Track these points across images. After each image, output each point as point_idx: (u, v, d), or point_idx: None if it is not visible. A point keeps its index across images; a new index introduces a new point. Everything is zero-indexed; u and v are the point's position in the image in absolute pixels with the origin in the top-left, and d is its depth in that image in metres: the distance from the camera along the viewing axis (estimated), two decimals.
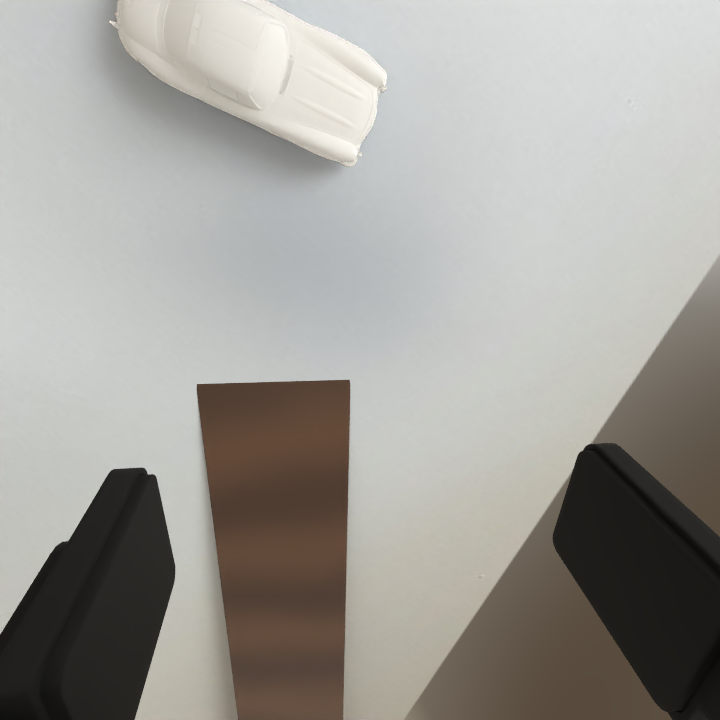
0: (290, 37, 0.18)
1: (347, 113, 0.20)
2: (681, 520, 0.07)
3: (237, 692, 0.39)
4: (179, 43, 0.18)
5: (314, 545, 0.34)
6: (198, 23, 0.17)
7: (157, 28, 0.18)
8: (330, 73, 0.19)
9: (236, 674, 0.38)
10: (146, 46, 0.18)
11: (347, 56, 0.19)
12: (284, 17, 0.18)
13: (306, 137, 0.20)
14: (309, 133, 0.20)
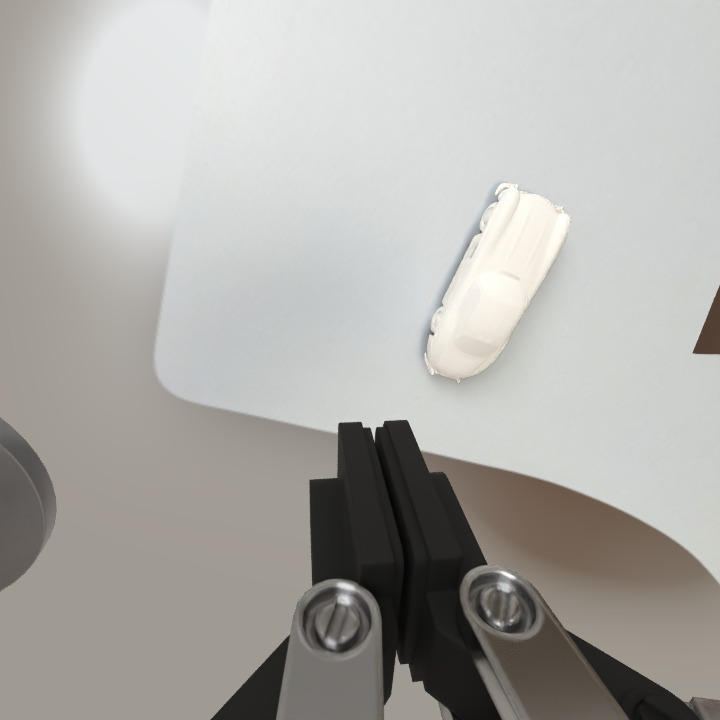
0: (486, 271, 0.24)
1: (539, 224, 0.24)
2: (416, 486, 0.08)
3: None
4: (488, 349, 0.25)
5: None
6: (481, 337, 0.25)
7: (473, 360, 0.26)
8: (511, 240, 0.24)
9: None
10: (479, 366, 0.27)
11: (501, 225, 0.23)
12: (473, 275, 0.24)
13: (550, 260, 0.24)
14: (548, 258, 0.24)
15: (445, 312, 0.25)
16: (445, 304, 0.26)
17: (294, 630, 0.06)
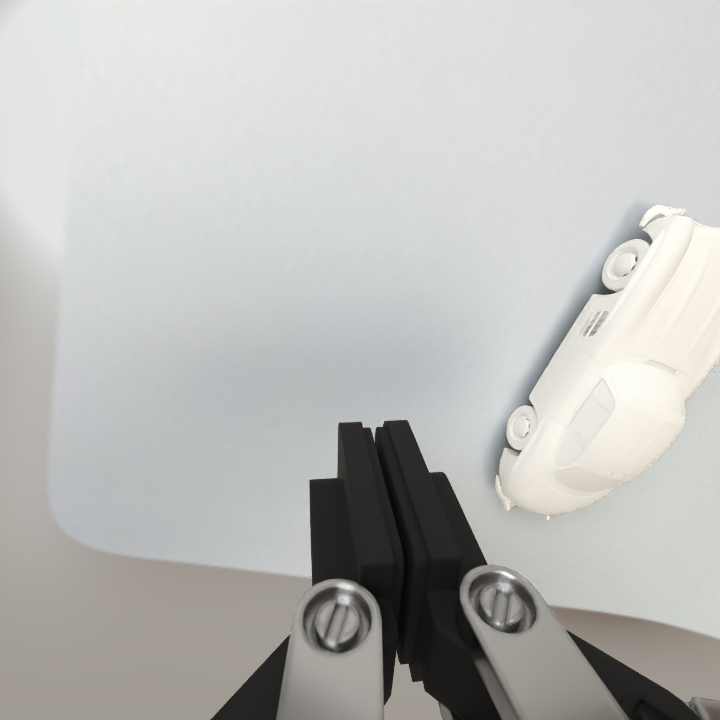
0: (622, 361, 0.14)
1: None
2: (416, 486, 0.08)
3: None
4: (612, 484, 0.15)
5: None
6: (607, 471, 0.14)
7: (582, 495, 0.16)
8: (672, 308, 0.13)
9: None
10: (587, 501, 0.16)
11: (659, 283, 0.13)
12: (597, 367, 0.14)
13: None
14: None
15: (540, 423, 0.15)
16: (539, 408, 0.15)
17: (294, 630, 0.06)
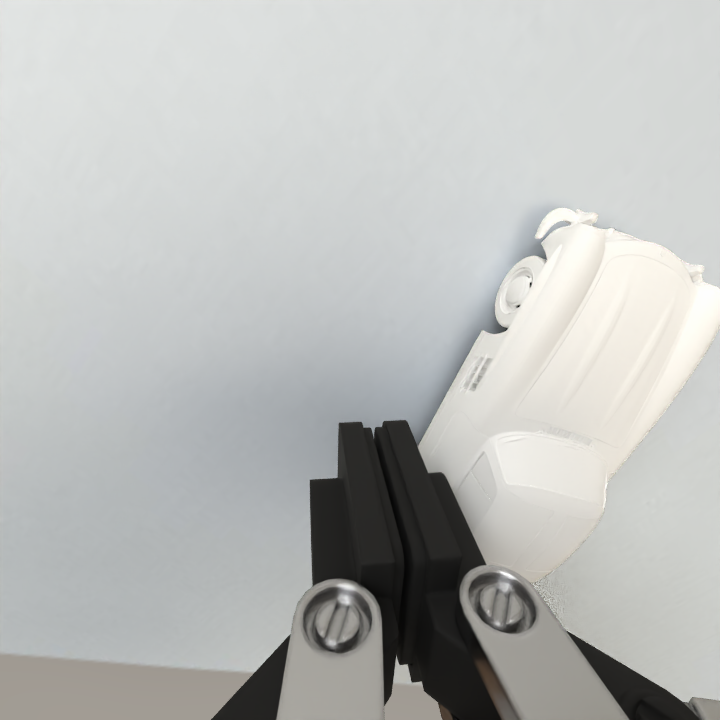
0: (511, 429, 0.10)
1: (651, 317, 0.09)
2: (415, 486, 0.08)
3: None
4: None
5: None
6: None
7: None
8: (577, 357, 0.09)
9: None
10: None
11: (555, 323, 0.09)
12: (477, 436, 0.10)
13: (670, 398, 0.10)
14: (664, 392, 0.10)
15: None
16: None
17: (295, 630, 0.06)
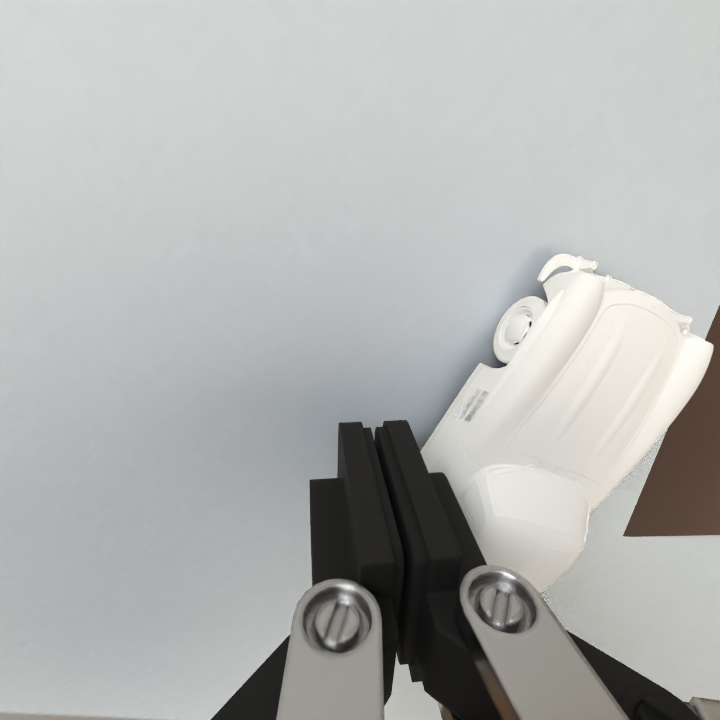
0: (502, 461, 0.10)
1: (641, 364, 0.10)
2: (415, 486, 0.08)
3: None
4: None
5: None
6: None
7: None
8: (570, 397, 0.10)
9: None
10: None
11: (551, 364, 0.09)
12: (469, 466, 0.10)
13: (653, 440, 0.10)
14: (648, 434, 0.10)
15: None
16: None
17: (294, 630, 0.06)
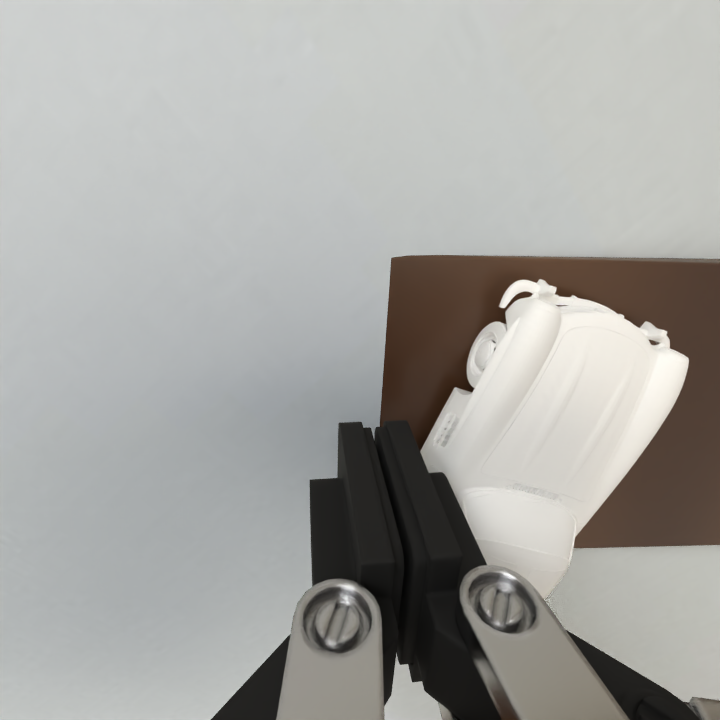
0: (478, 485, 0.10)
1: (608, 383, 0.10)
2: (415, 486, 0.08)
3: None
4: None
5: None
6: None
7: None
8: (538, 420, 0.10)
9: None
10: None
11: (513, 391, 0.09)
12: None
13: (634, 456, 0.10)
14: (628, 451, 0.10)
15: None
16: None
17: (294, 630, 0.06)
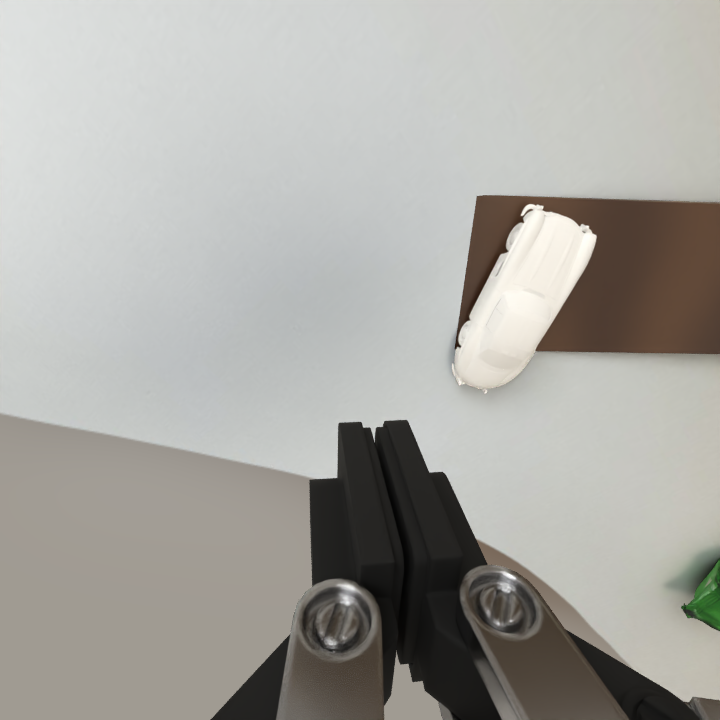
0: (511, 289, 0.25)
1: (563, 244, 0.24)
2: (416, 486, 0.08)
3: None
4: (513, 362, 0.27)
5: (694, 245, 0.27)
6: (506, 351, 0.26)
7: (499, 372, 0.27)
8: (536, 259, 0.25)
9: None
10: (505, 378, 0.28)
11: (526, 245, 0.24)
12: (498, 292, 0.25)
13: (575, 278, 0.25)
14: (573, 275, 0.25)
15: (471, 327, 0.27)
16: (472, 319, 0.27)
17: (294, 630, 0.06)
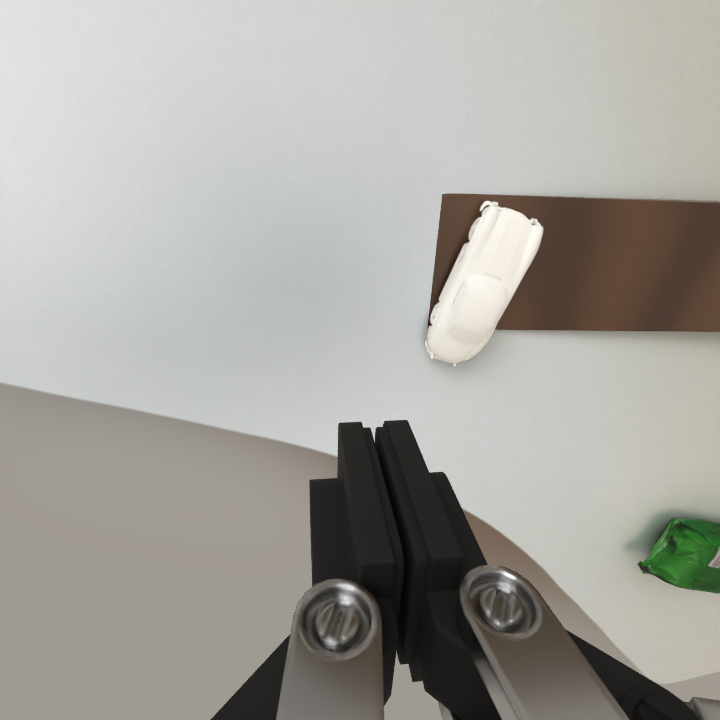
0: (472, 273, 0.30)
1: (515, 234, 0.29)
2: (416, 486, 0.08)
3: None
4: (476, 337, 0.31)
5: (628, 236, 0.32)
6: (469, 327, 0.30)
7: (465, 346, 0.32)
8: (492, 247, 0.29)
9: None
10: (470, 352, 0.32)
11: (484, 236, 0.29)
12: (461, 276, 0.30)
13: (527, 263, 0.30)
14: (524, 261, 0.30)
15: (440, 307, 0.31)
16: (440, 300, 0.31)
17: (294, 630, 0.06)
